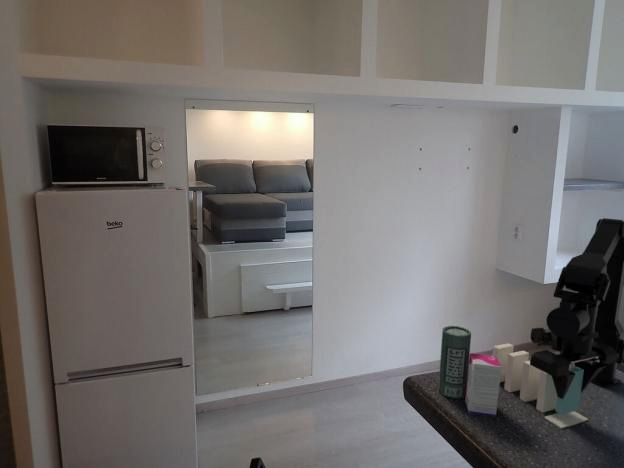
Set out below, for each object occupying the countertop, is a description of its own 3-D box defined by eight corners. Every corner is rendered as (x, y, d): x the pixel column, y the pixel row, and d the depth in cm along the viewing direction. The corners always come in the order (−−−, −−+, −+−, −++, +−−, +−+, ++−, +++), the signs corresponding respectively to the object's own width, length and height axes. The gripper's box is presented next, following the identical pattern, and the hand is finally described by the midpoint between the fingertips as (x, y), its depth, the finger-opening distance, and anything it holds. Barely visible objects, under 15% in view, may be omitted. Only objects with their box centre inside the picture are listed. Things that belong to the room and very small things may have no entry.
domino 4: (536, 408, 98) (540, 370, 97) (552, 404, 100) (556, 366, 99) (542, 412, 97) (547, 373, 95) (558, 407, 99) (563, 370, 97)
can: (464, 386, 107) (469, 327, 105) (466, 399, 101) (472, 337, 99) (438, 383, 109) (442, 324, 106) (439, 396, 103) (443, 334, 100)
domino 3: (519, 398, 102) (523, 361, 101) (535, 394, 104) (539, 358, 103) (525, 402, 101) (529, 364, 99) (541, 397, 103) (545, 361, 101)
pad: (570, 410, 98) (570, 409, 98) (587, 420, 94) (588, 419, 94) (544, 418, 95) (544, 416, 95) (561, 428, 91) (561, 427, 91)
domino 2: (504, 389, 106) (507, 353, 105) (519, 385, 108) (523, 350, 107) (509, 392, 105) (513, 356, 103) (525, 388, 107) (529, 353, 105)
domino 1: (490, 380, 111) (493, 346, 109) (505, 376, 113) (508, 343, 111) (495, 383, 109) (498, 348, 108) (510, 379, 111) (513, 345, 110)
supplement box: (497, 417, 95) (502, 367, 93) (467, 413, 96) (472, 363, 94) (491, 403, 100) (496, 355, 98) (464, 399, 102) (468, 352, 100)
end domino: (578, 409, 94) (583, 370, 93) (562, 414, 93) (567, 374, 91) (571, 405, 96) (576, 366, 94) (555, 410, 94) (560, 370, 92)
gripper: (573, 307, 102) (565, 370, 105) (512, 317, 95) (505, 385, 97) (623, 323, 92) (613, 394, 94) (559, 336, 85) (550, 412, 87)
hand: (569, 395), depth 94 cm, fingers closed on end domino, 5 cm apart
